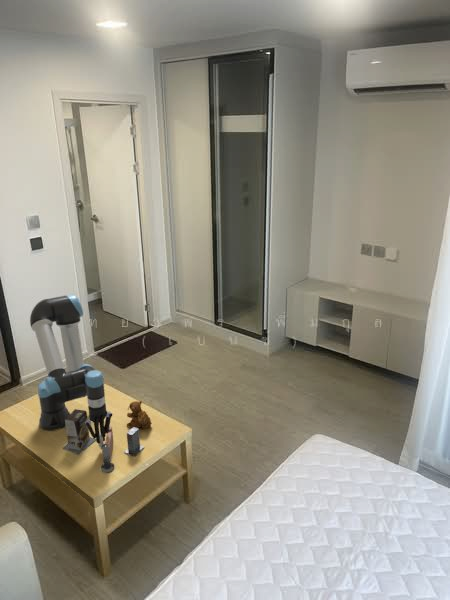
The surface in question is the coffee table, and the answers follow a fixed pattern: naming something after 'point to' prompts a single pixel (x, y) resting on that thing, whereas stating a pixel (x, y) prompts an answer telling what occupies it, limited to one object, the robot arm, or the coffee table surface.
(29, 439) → the coffee table surface
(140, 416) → the stuffed squirrel
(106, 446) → the hinge post
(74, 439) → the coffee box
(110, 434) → the gate
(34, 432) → the coffee table surface
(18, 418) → the coffee table surface
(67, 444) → the mat
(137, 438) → the post
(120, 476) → the coffee table surface
